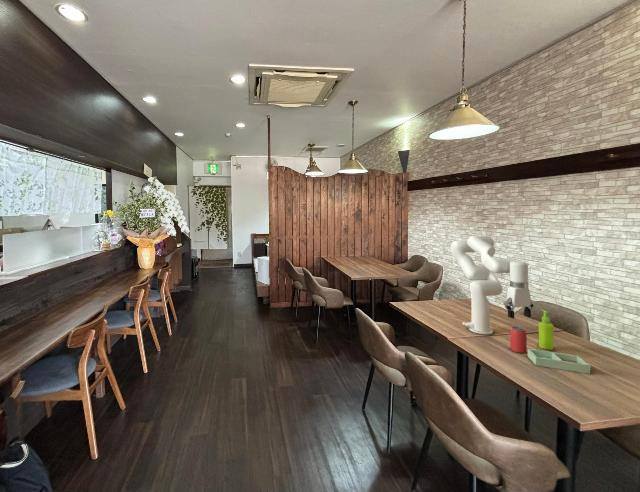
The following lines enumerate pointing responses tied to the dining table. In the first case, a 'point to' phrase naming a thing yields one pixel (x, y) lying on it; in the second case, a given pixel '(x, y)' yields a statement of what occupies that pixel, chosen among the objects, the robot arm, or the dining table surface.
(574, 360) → the divided tray
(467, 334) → the dining table surface
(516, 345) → the beer can
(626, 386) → the dining table surface
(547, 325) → the soap dispenser
